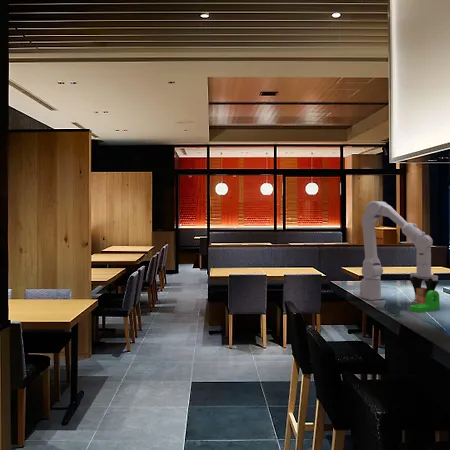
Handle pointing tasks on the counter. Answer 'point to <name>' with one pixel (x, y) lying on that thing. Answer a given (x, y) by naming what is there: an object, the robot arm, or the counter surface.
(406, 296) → the counter surface
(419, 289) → the terracotta block
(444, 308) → the counter surface
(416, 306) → the mechanical part
